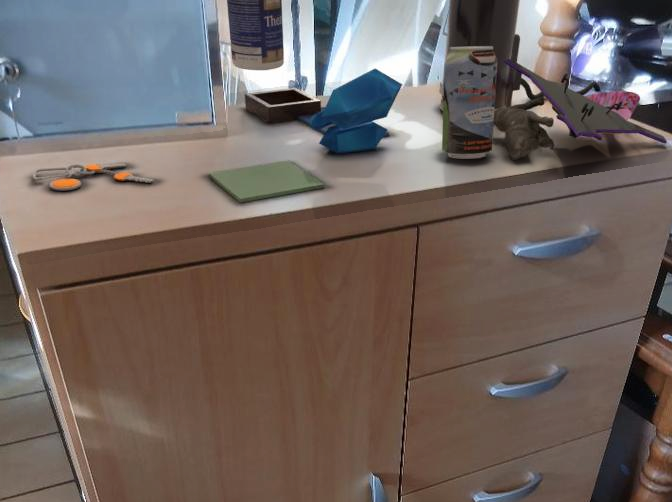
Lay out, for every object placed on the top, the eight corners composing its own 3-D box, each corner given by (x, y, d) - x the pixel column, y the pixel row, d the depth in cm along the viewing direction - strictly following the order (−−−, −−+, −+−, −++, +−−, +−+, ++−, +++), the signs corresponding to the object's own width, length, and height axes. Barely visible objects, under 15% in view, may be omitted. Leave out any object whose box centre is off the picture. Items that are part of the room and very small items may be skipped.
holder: (295, 102, 109) (295, 87, 107) (321, 116, 103) (321, 100, 102) (245, 108, 105) (244, 93, 104) (269, 123, 100) (268, 107, 99)
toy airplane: (690, 159, 78) (663, 204, 81) (676, 111, 98) (655, 149, 101) (486, 69, 78) (467, 117, 81) (515, 40, 98) (499, 79, 102)
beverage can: (458, 169, 87) (470, 53, 80) (426, 151, 92) (434, 40, 84) (502, 162, 90) (517, 49, 82) (468, 145, 95) (479, 37, 87)
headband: (642, 123, 97) (651, 106, 96) (624, 106, 95) (633, 89, 94) (588, 124, 106) (595, 109, 105) (570, 109, 104) (577, 94, 103)
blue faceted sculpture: (293, 86, 88) (379, 52, 91) (310, 158, 94) (390, 125, 97) (319, 101, 83) (410, 65, 86) (335, 176, 89) (420, 140, 92)
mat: (288, 164, 88) (288, 160, 87) (324, 187, 82) (324, 184, 81) (208, 176, 84) (208, 173, 83) (240, 202, 78) (239, 198, 78)
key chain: (30, 193, 78) (28, 185, 78) (33, 170, 84) (31, 163, 83) (154, 186, 81) (153, 178, 81) (149, 164, 87) (148, 157, 86)
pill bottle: (276, 73, 75) (269, -45, 68) (225, 69, 75) (214, -48, 69) (290, 61, 79) (286, -51, 72) (242, 58, 79) (233, -54, 73)
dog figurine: (535, 135, 98) (480, 146, 98) (535, 87, 94) (477, 99, 94) (563, 165, 89) (502, 177, 89) (564, 114, 85) (500, 127, 85)
